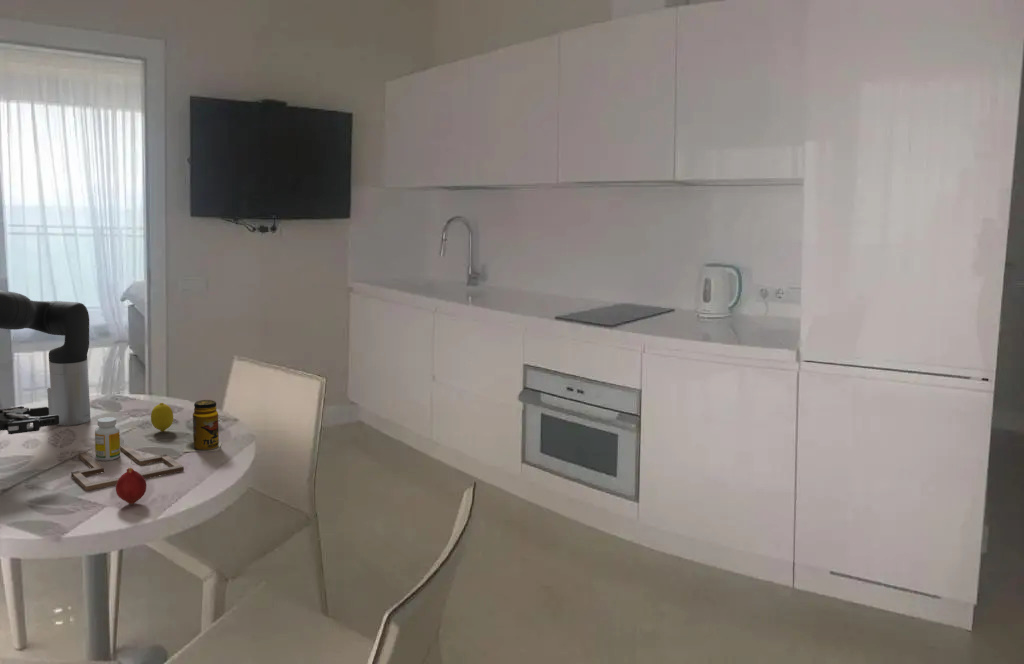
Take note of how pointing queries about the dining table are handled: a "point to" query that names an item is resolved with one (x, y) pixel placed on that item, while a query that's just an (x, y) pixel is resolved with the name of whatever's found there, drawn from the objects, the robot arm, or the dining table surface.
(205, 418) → the condiment
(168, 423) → the lemon
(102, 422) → the supplement bottle
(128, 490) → the onion
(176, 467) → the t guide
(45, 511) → the dining table surface
